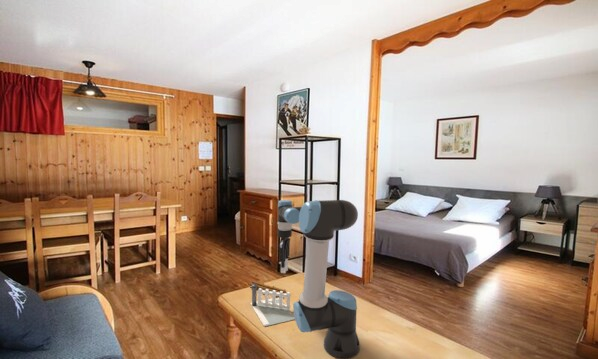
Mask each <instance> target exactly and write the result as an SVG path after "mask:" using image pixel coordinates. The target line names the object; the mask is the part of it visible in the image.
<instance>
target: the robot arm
mask: <svg viewBox="0 0 598 359" xmlns="http://www.w3.org/2000/svg"><path fill="white" fill-rule="evenodd" d="M358 217H359V212H358V209H357V207H356V205H354V203H352V202H350V201H348V200H345V199H331V200H312V201H311V200H310V201H309V200H308V201H305V202H304V203H303V205H302V206H293V201H292V200H290V199H282V200H281V199H280V200H279V201H278V203H277V222H276V224H277V237H279V238H280V240H279V243H278V254H279V255H278V261H279V262H280V273H281V274H286V273H287V271H289V259H290V250H291V249H290V247H291V246H290V245H291V237H292V236H293V233H292V232H293V231H292V230H293V225H295V224H297V223H298V227H299V229H300V232H302V233H303V236H304V237H305V238H306V247H305V261H304V274H303V275H304V276H303V288H302V289H303V291H302V292H301V293H300V295H299V296H298V297H299V298H298V301H297V300H296V301H294V303H293V306H292V307H293V315H294V316H295V324H296V326H297V328H298V330H299V331H300V332H301V333H312V332H315V331H321V330H326V329H327V331H326V334H325V336H324V339H323V347H324V348H323V349H324V350H325V352H326V353H327V354H329V355H330V356H332V357H335V358H338V359H350V358H351V359H352V358H354V357H356V356H357V355H358V354H359V353H360V351H361V350H360V345H361V343H360V340H359V337H358V333H357V311H358V310H357V309H358V305H357V299H356V297H355V295H353V294H352V293H349V292H348V291H344V290H337V289H336V290H335V289H334V290H331V291H329V293H328V296H327V295H326V294H325V292H326V283H327V282H326V281H327V269H328V259H329V257H328V256H329V246H330V241H331V240H333V238H334V236H335V231H344V230H348V229H349V228H352V227H354V225H355V224H356V222H357V221H358Z"/></svg>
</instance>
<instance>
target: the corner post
mask: <svg viewBox="0 0 598 359" xmlns="http://www.w3.org/2000/svg"><path fill="white" fill-rule="evenodd" d="M250 287H251V302H252V306H256V305H257V301H258V289H257V284H252V285H251V286H250ZM252 306H251V307H252Z"/></svg>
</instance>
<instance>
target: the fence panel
mask: <svg viewBox="0 0 598 359" xmlns="http://www.w3.org/2000/svg"><path fill="white" fill-rule="evenodd" d="M262 295H264V300H265V302H264V301H262V300H263V298H262V297H263V296H262ZM291 295H292V294H291V292H290V291H287V292H285V293H283V291H280V292H279V293H278V292H276V290H273V291H272V292H271V291H269V289H266V290H265V291H264V290H263V289H262V288H259V289H257V301H258V305H260V306H261V305H265V306H267V307H268V306H272V307H273V308H275V307H279V308H280V309H282V308H286V309H287V310H290V309H291V306H292V305H291ZM269 296H271V298H272V303H271V302H269V299H270V298H269ZM276 296H278V297H279V304H278V303H276ZM284 298H286V304H285V303H284ZM283 303H284V304H285V305H284V304H283Z"/></svg>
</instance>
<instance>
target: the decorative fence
mask: <svg viewBox="0 0 598 359" xmlns="http://www.w3.org/2000/svg"><path fill="white" fill-rule="evenodd" d="M252 284H257V290H258V289H259V288H262V290H264V291H265V290H266V289H269V291H271V292H272V291H273V290H276V292H278V293H279V292H280V291H283V293H287V292H286V291H287V290H286V289H283V288H282V289H281V288H279V287H275V286H274V285H273V286H271V285H268V284H267V285H266V284H265V283H264V282H262V283H261V282H259V281H257V280H256V281H255V280H253V281H251V282H248V284H247V286H250V287H252V286H251V285H252ZM277 297H279V296H276V298H277Z"/></svg>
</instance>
